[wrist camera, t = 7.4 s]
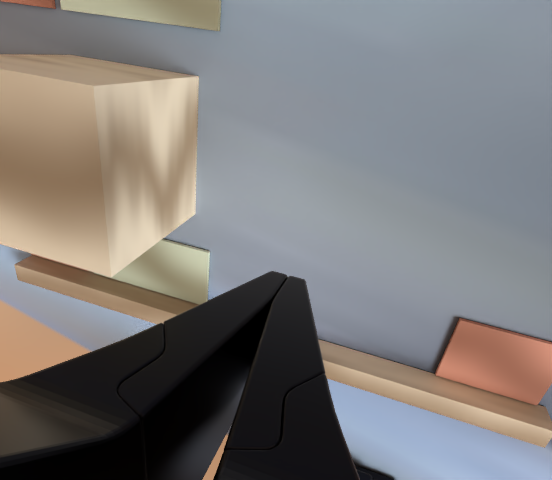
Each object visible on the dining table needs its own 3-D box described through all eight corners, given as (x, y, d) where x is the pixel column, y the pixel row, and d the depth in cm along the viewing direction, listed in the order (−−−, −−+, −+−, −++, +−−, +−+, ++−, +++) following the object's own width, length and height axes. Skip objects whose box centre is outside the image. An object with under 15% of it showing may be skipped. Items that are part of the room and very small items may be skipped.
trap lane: (535, 422, 20) (544, 447, 19) (36, 268, 26) (17, 279, 25) (883, -96, 10) (953, -118, 9) (-48, -139, 17) (-86, -155, 15)
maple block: (195, 213, 21) (111, 277, 15) (87, 186, 22) (-31, 235, 16) (199, 76, 18) (93, 85, 12) (72, 54, 19) (-82, 53, 13)
